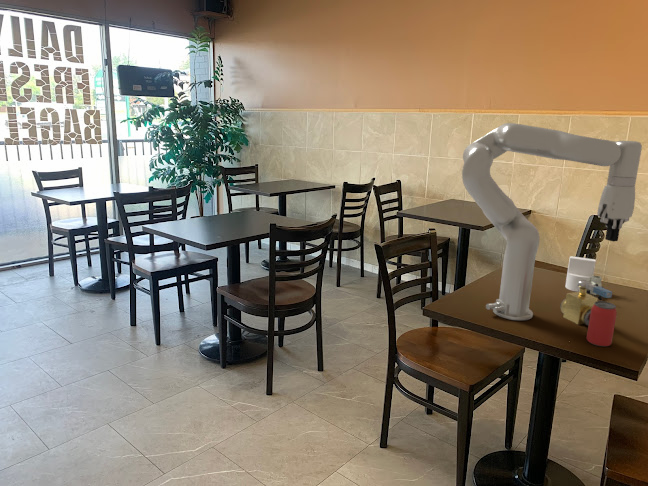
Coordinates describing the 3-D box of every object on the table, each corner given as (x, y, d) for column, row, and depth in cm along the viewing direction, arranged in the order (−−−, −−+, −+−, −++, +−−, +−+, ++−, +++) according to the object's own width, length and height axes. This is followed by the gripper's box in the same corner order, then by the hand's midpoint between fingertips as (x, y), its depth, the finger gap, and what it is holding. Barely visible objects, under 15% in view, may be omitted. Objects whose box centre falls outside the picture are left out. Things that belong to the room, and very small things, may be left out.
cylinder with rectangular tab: (564, 289, 195) (568, 259, 192) (566, 283, 203) (570, 254, 200) (590, 293, 191) (595, 263, 188) (591, 287, 199) (596, 257, 196)
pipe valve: (600, 325, 162) (606, 292, 159) (584, 328, 160) (590, 294, 157) (572, 311, 173) (577, 280, 170) (557, 313, 171) (561, 282, 168)
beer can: (584, 336, 154) (590, 299, 151) (608, 339, 152) (615, 302, 149) (588, 345, 148) (594, 307, 145) (613, 348, 146) (620, 310, 143)
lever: (574, 285, 165) (575, 280, 164) (583, 284, 166) (584, 279, 165) (603, 298, 154) (604, 292, 153) (613, 297, 155) (614, 291, 154)
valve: (584, 290, 195) (583, 299, 185) (586, 273, 194) (586, 282, 183) (603, 293, 192) (604, 303, 182) (606, 276, 191) (607, 285, 180)
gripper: (628, 180, 161) (618, 236, 165) (592, 181, 156) (583, 239, 160) (650, 183, 154) (639, 241, 159) (613, 184, 149) (603, 244, 154)
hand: (611, 240), depth 160 cm, fingers closed
